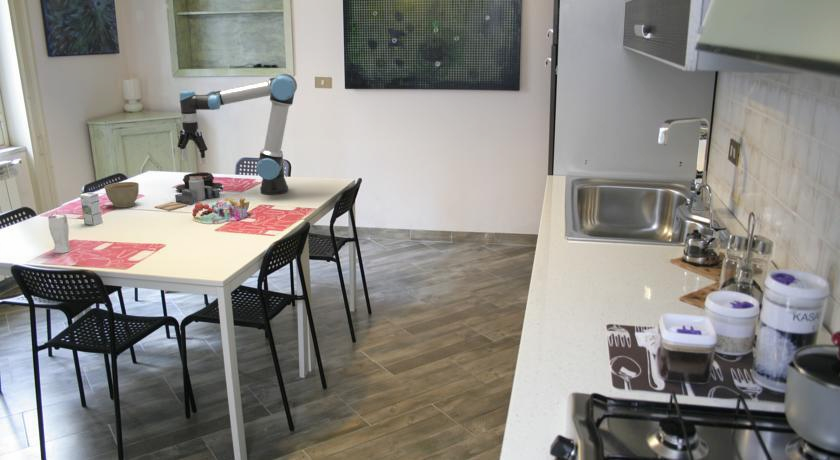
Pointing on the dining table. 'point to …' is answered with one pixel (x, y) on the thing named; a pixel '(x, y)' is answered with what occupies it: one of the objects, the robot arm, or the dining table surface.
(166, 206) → the mat
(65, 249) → the beer glass
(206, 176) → the casserole
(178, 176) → the dining table surface
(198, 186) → the can
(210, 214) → the candy landscape model
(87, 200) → the syrup box
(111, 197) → the planter bowl
